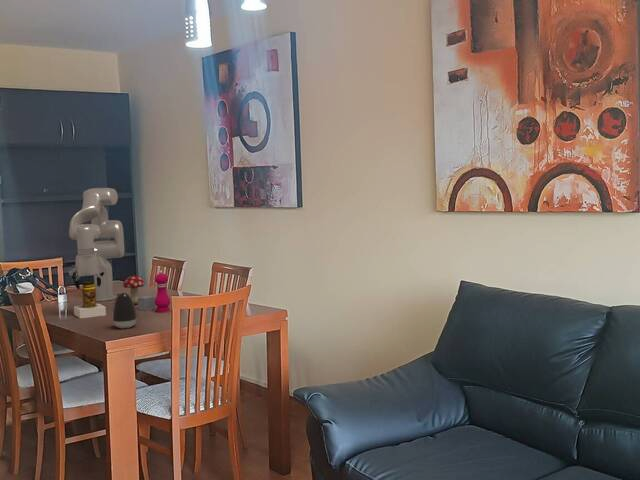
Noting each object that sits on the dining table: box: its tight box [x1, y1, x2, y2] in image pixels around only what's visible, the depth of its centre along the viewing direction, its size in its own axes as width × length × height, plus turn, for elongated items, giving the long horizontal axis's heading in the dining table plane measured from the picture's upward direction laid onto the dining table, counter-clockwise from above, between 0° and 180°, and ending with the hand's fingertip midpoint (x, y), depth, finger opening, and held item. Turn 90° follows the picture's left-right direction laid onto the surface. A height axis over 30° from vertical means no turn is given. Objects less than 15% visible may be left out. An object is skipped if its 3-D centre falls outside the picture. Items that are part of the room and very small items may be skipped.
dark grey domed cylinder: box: [111, 292, 138, 329], centre depth 314 cm, size 10×10×15 cm
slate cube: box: [137, 295, 157, 311], centre depth 357 cm, size 6×6×6 cm
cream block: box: [73, 303, 107, 319], centre depth 346 cm, size 12×12×4 cm
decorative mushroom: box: [122, 275, 145, 306], centre depth 370 cm, size 11×11×15 cm
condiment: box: [77, 280, 99, 308], centre depth 345 cm, size 7×8×12 cm
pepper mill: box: [154, 270, 171, 313], centre depth 348 cm, size 7×7×20 cm
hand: (88, 287), depth 345 cm, fingers open, 9 cm apart
